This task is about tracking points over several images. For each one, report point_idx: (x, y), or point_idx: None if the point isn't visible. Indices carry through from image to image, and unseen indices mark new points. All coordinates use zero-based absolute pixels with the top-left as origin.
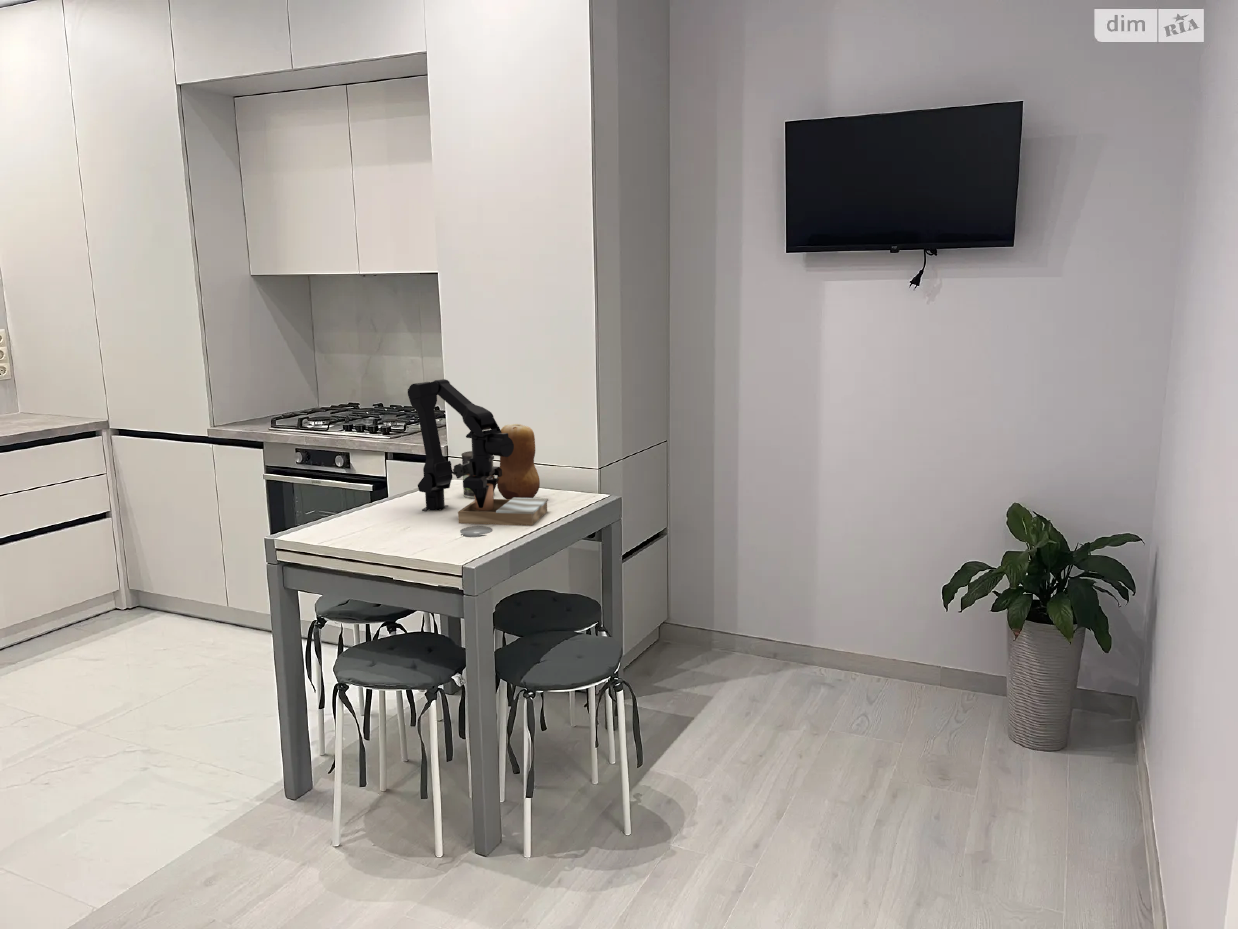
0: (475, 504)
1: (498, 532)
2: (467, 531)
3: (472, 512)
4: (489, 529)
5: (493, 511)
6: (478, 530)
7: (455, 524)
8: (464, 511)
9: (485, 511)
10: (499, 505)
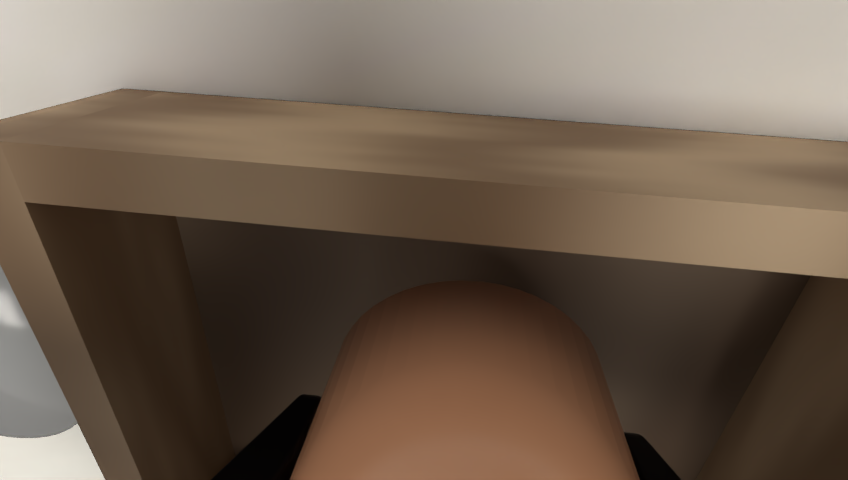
0: (358, 364)
1: (73, 447)
2: None
3: (49, 349)
4: (23, 421)
5: (710, 362)
6: None
7: (141, 29)
8: (14, 242)
9: (736, 282)
10: (771, 464)
